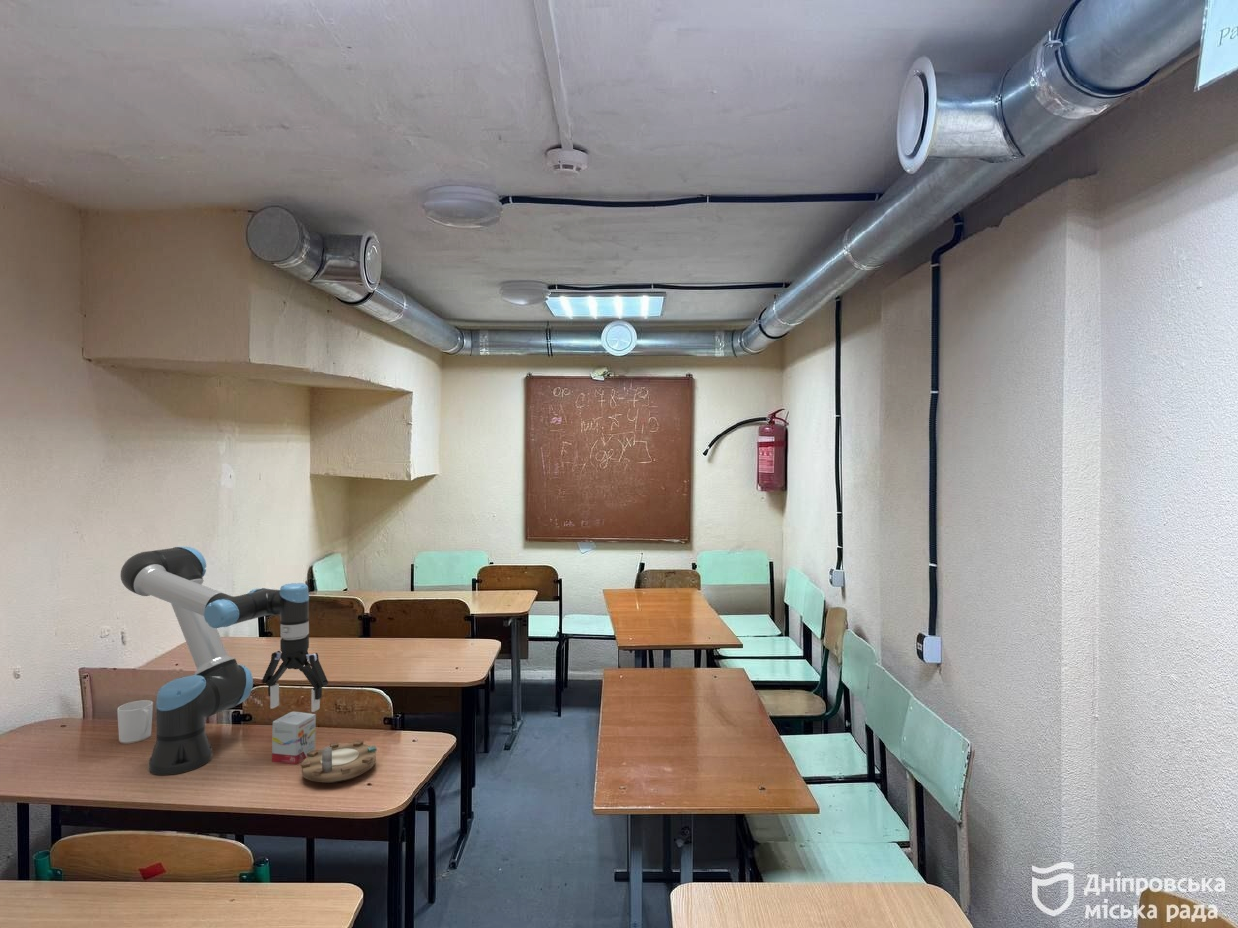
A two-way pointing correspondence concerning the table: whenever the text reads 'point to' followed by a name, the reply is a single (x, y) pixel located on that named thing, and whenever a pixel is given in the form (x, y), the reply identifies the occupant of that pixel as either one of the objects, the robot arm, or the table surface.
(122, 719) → the mug
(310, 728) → the ink box
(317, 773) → the turntable
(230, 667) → the robot arm
